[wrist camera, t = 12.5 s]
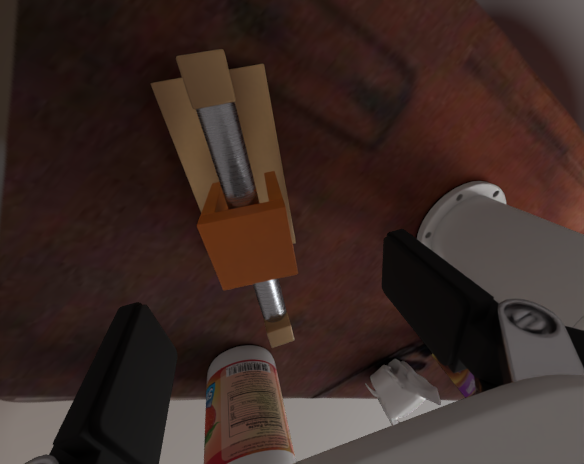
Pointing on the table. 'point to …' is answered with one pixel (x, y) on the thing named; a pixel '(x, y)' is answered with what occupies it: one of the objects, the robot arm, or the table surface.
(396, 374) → the elephant figurine
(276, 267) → the clip
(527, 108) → the table surface
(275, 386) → the fruit juice
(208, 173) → the rail stand
